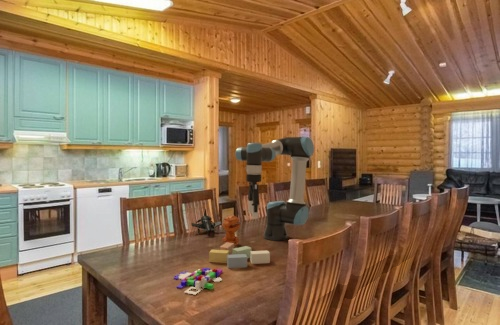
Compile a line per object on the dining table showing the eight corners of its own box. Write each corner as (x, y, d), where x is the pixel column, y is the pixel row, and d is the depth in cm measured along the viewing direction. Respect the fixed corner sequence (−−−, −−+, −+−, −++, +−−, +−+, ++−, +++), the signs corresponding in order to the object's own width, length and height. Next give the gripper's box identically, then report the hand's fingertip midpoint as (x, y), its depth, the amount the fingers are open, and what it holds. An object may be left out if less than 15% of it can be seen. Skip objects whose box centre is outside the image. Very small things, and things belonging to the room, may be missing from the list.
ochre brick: (228, 260, 158) (228, 250, 157) (226, 263, 153) (227, 253, 153) (211, 259, 159) (211, 249, 159) (209, 262, 154) (209, 252, 154)
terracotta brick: (226, 251, 172) (226, 242, 172) (234, 252, 170) (234, 243, 170) (219, 256, 163) (219, 246, 163) (227, 257, 162) (227, 247, 162)
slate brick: (245, 264, 152) (245, 254, 152) (247, 267, 148) (247, 257, 148) (227, 265, 151) (227, 254, 151) (228, 268, 147) (228, 257, 146)
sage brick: (246, 255, 166) (246, 245, 165) (251, 257, 162) (251, 248, 162) (232, 258, 160) (232, 248, 160) (237, 261, 157) (237, 251, 156)
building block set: (192, 267, 148) (193, 258, 148) (231, 275, 140) (231, 265, 140) (157, 288, 125) (157, 277, 125) (201, 298, 117) (202, 287, 117)
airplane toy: (218, 228, 220) (218, 207, 220) (225, 235, 202) (225, 212, 202) (189, 230, 214) (190, 208, 214) (194, 238, 196) (194, 214, 195)
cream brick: (267, 260, 159) (267, 250, 158) (269, 263, 154) (269, 253, 154) (250, 261, 157) (250, 251, 157) (251, 264, 152) (251, 254, 152)
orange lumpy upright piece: (238, 248, 176) (238, 217, 175) (219, 247, 178) (219, 216, 177) (242, 243, 187) (242, 213, 186) (224, 241, 189) (225, 212, 188)
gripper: (243, 172, 168) (242, 211, 169) (250, 175, 143) (249, 221, 144) (257, 172, 169) (256, 211, 170) (266, 175, 144) (265, 221, 145)
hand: (253, 216), depth 157 cm, fingers open, 13 cm apart
